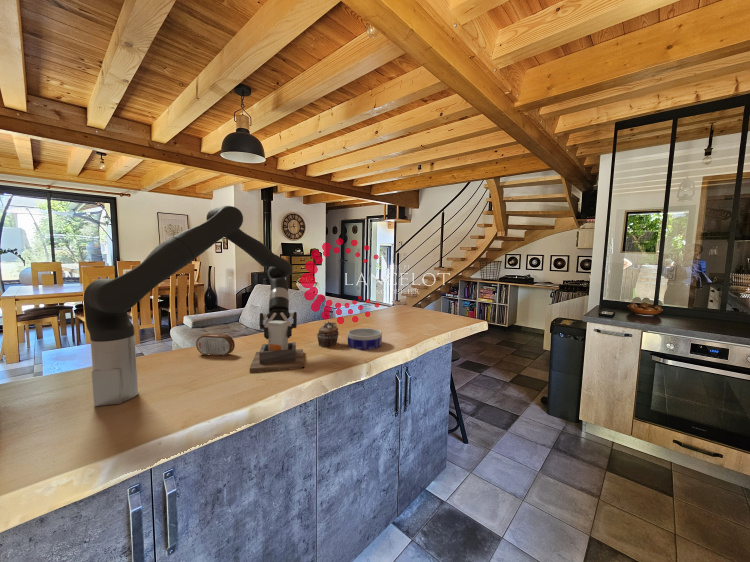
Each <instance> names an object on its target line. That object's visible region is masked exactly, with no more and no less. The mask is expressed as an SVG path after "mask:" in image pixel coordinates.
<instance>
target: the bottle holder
mask: <svg viewBox="0 0 750 562" xmlns="http://www.w3.org/2000/svg"><path fill="white" fill-rule="evenodd" d="M250 364H251V365H250V366H249V373H250V372H251V373H259V372H258V371H263V372H268V371H267V370H275V371H280V370H279V369H287V370H291V369H290V368H299V369H303V368H302V367H304V368H305V360H304V349H303V348H297V343H296V341H295V342H293V341H292V342H288V350H278V351H269V349H268V343H264V344H262V345H261V348H260V350H259V351H256V352H255V354H254V357H253V359H252V362H251V363H250Z"/></svg>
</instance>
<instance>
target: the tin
mask: <svg viewBox="0 0 750 562" xmlns="http://www.w3.org/2000/svg"><path fill="white" fill-rule="evenodd" d="M195 346H196V349H197V351H198V353H200V354H202V355H203V354H210V355H209V356H214V355H225V356H228V355H229V354H232V352H233V351H234V350H235V346H236V344H235V341H234V338H232V337H231V336H230V335H229V334H225V333H204V334H202V335H201V336H199V337H198V338H197V340H196V343H195Z"/></svg>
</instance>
